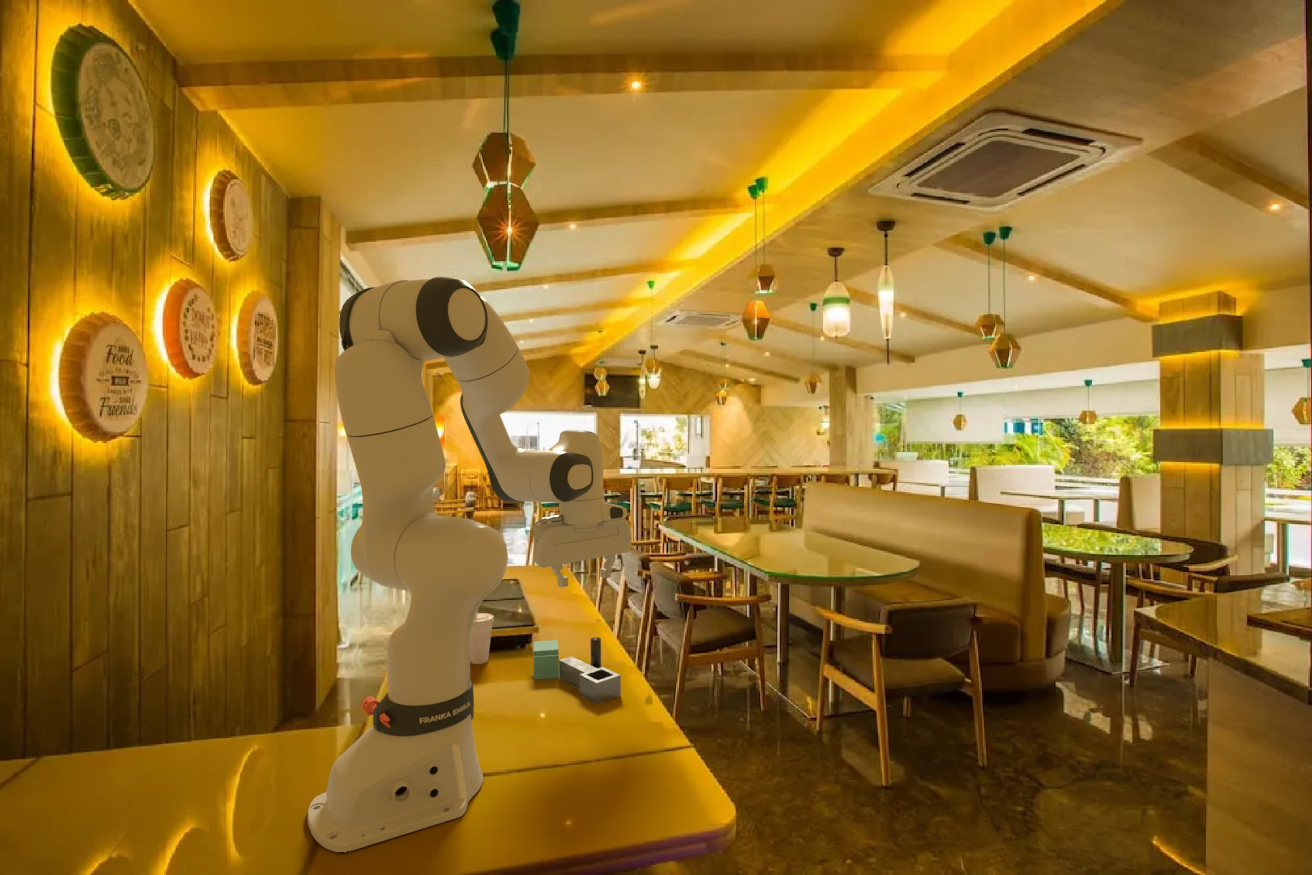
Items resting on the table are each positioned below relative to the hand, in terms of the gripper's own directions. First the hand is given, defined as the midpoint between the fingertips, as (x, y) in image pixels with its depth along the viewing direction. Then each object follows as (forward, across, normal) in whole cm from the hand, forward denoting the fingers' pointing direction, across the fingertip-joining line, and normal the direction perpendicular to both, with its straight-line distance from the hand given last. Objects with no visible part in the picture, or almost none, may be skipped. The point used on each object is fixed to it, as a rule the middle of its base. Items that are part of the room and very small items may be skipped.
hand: (584, 581), depth 125 cm
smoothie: (+21, -14, +25) cm, 35 cm away
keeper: (+21, -4, +11) cm, 24 cm away
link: (+21, -1, -1) cm, 21 cm away
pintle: (+21, +6, +7) cm, 23 cm away
